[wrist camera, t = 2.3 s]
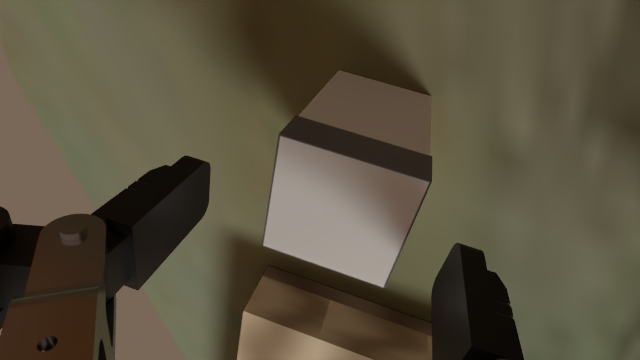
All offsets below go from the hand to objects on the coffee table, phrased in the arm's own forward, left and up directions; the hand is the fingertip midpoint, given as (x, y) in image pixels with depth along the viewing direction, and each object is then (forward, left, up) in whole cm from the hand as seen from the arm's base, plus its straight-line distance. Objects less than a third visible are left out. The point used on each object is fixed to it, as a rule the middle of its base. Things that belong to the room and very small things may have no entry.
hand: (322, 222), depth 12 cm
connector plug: (0, 0, -8) cm, 8 cm away
